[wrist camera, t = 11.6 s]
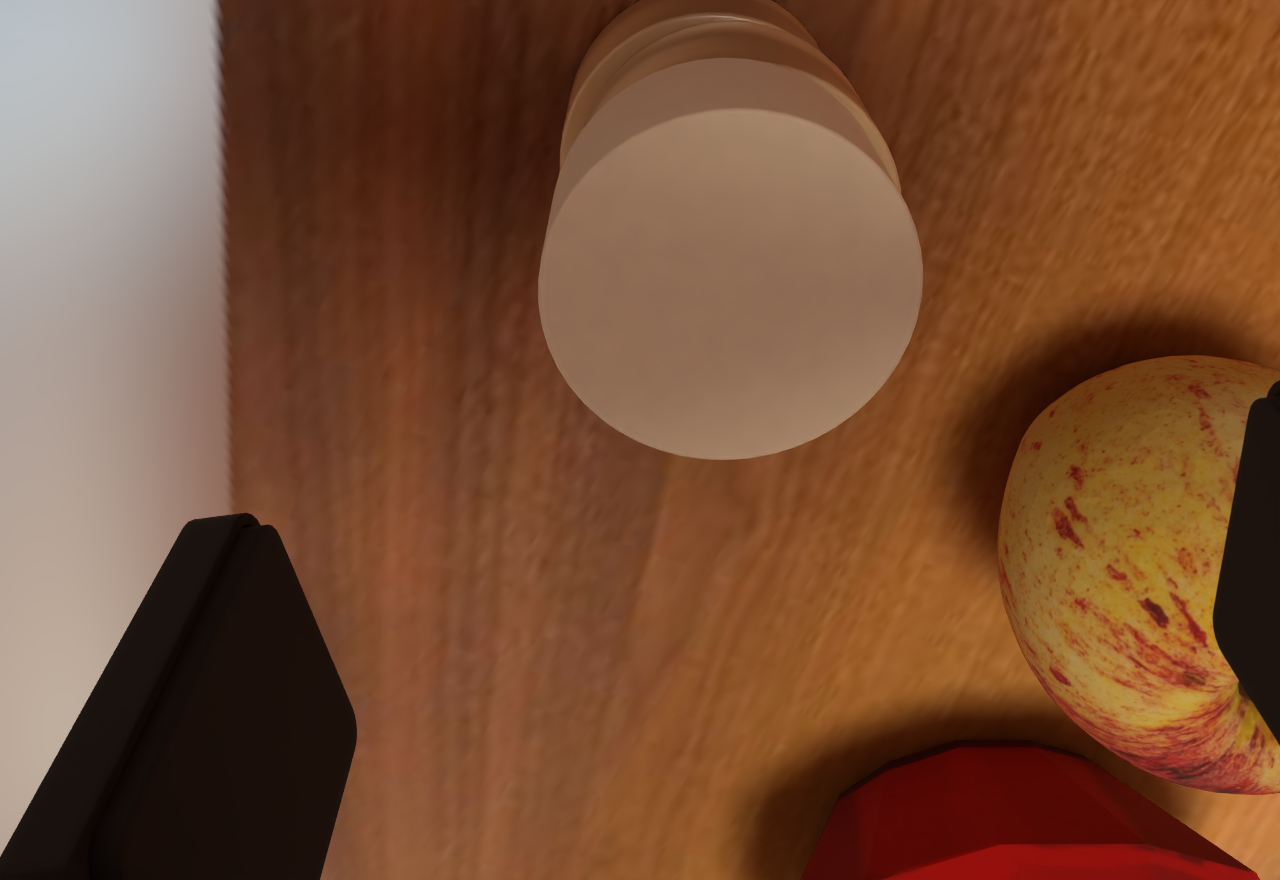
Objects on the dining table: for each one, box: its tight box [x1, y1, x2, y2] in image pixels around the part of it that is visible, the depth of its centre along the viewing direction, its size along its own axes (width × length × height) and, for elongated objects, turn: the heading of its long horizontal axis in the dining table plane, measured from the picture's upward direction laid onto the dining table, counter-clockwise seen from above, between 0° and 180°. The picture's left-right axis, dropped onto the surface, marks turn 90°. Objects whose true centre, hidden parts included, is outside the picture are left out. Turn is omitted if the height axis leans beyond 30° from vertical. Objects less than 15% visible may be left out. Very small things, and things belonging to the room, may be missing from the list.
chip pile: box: [560, 0, 902, 196], centre depth 22 cm, size 6×6×6 cm
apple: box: [998, 355, 1280, 795], centre depth 25 cm, size 9×9×10 cm
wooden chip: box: [538, 58, 923, 460], centre depth 18 cm, size 6×6×3 cm
